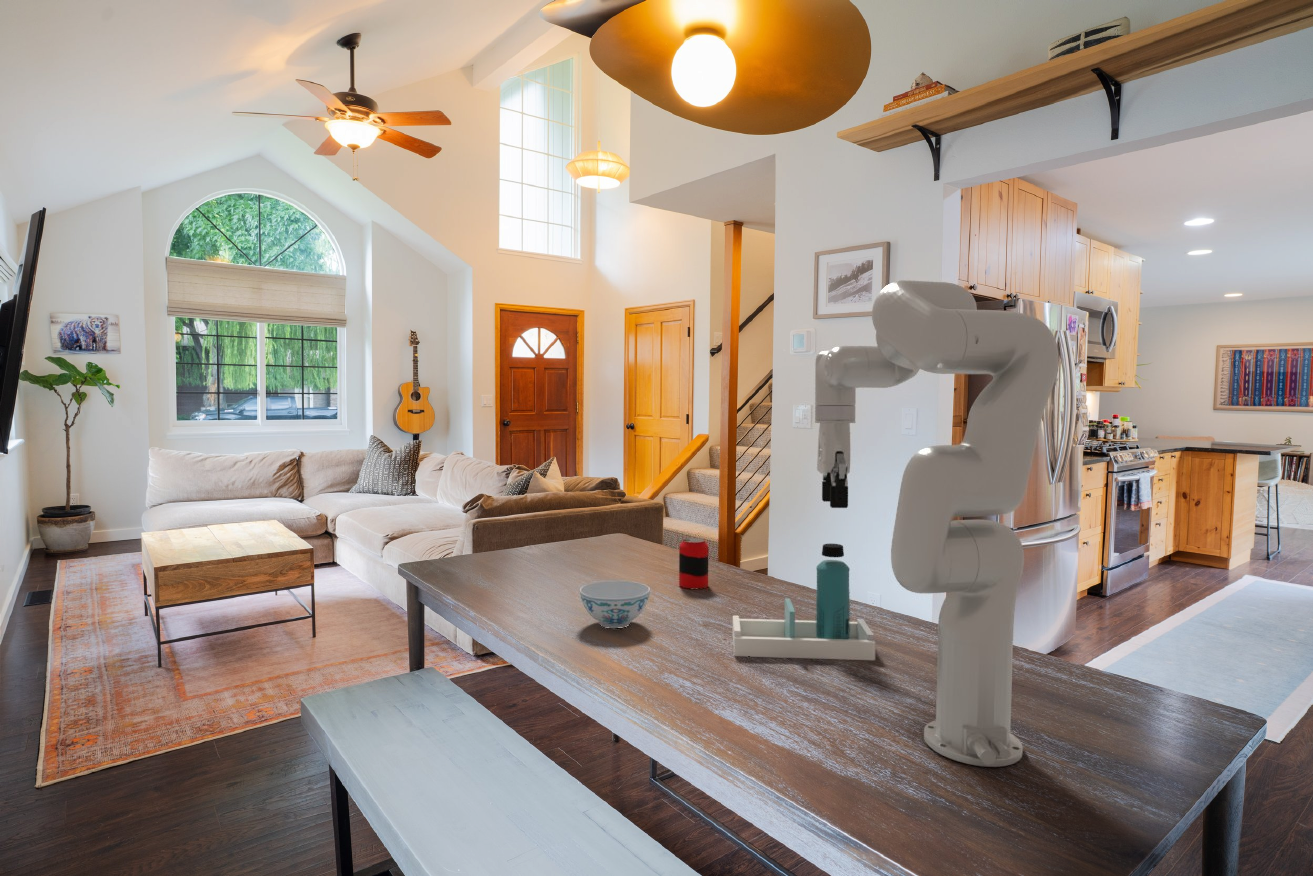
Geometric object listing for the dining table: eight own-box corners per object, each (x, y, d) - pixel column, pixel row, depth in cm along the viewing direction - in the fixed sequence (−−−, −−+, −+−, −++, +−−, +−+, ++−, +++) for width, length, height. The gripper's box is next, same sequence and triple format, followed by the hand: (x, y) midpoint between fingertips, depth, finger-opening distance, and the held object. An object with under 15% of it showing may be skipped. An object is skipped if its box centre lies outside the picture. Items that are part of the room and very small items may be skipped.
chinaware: (568, 631, 149) (568, 595, 149) (595, 611, 164) (595, 578, 163) (636, 639, 145) (636, 601, 145) (658, 617, 159) (658, 583, 159)
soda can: (679, 582, 191) (679, 537, 190) (707, 582, 191) (708, 537, 190) (678, 589, 183) (679, 543, 183) (708, 590, 183) (709, 543, 182)
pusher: (794, 651, 136) (795, 611, 136) (789, 651, 136) (789, 611, 136) (789, 635, 145) (789, 598, 145) (784, 635, 145) (784, 598, 145)
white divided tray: (875, 660, 133) (875, 637, 133) (734, 656, 135) (734, 633, 135) (861, 638, 146) (861, 617, 145) (732, 634, 148) (732, 613, 147)
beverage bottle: (850, 653, 136) (852, 548, 135) (814, 650, 137) (816, 547, 136) (848, 642, 142) (850, 541, 141) (814, 639, 144) (815, 540, 143)
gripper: (809, 415, 147) (808, 499, 147) (822, 415, 129) (821, 510, 130) (846, 415, 146) (846, 499, 147) (864, 415, 129) (863, 510, 129)
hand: (834, 504), depth 138 cm, fingers open, 9 cm apart
